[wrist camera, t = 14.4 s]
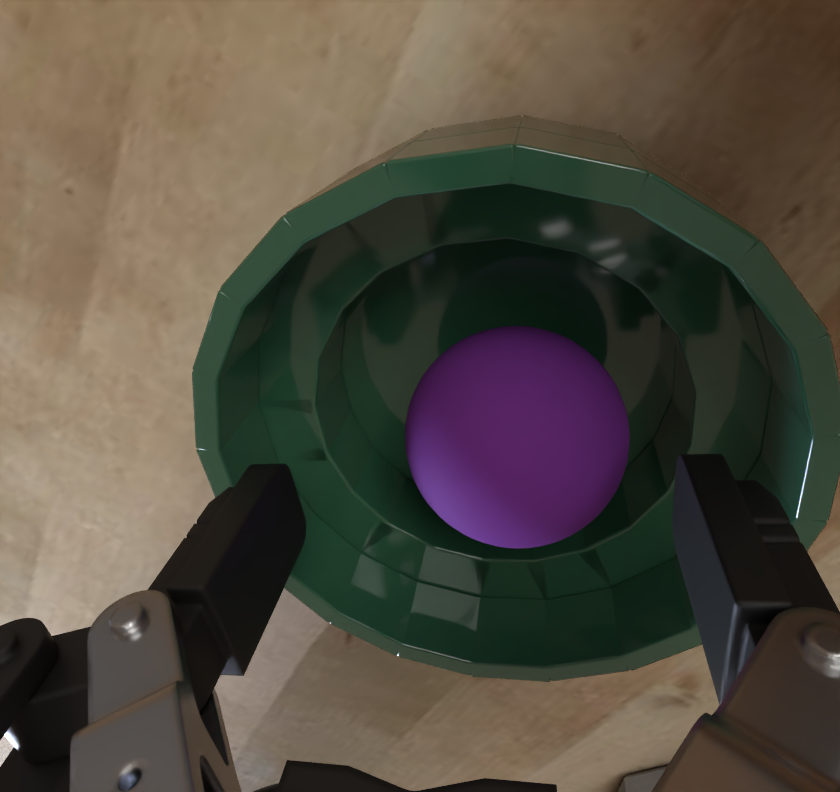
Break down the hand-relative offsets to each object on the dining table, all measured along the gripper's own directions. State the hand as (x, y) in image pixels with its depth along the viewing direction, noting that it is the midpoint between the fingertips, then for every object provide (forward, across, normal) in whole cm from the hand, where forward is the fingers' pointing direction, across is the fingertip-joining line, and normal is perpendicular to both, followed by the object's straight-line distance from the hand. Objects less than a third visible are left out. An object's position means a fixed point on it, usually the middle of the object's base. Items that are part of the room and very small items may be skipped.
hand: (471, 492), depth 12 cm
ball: (+2, -1, 0) cm, 2 cm away
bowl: (+5, 0, 0) cm, 5 cm away
